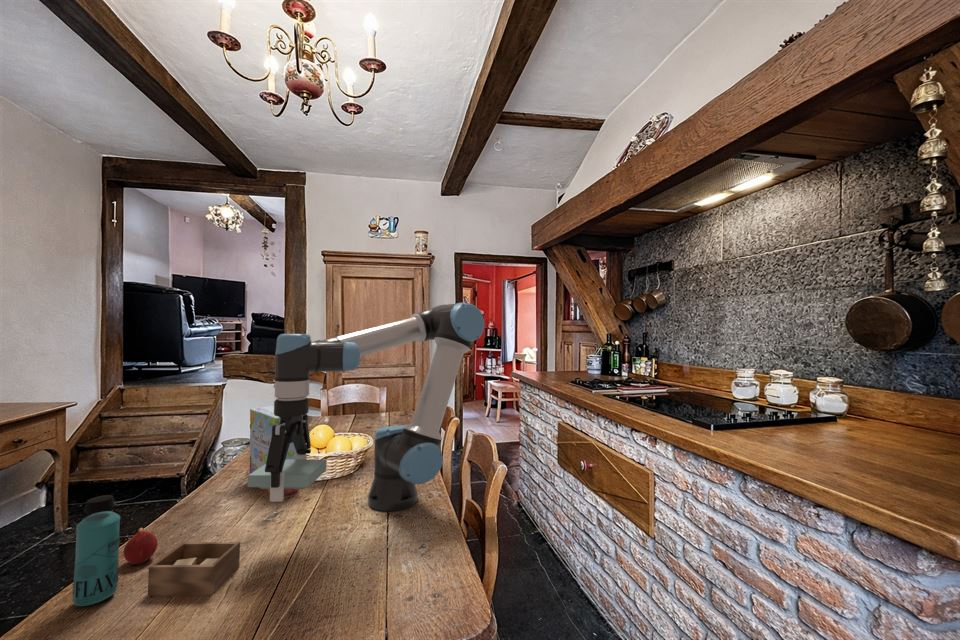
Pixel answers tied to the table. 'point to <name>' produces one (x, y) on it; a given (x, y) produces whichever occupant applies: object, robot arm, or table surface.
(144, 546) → the onion
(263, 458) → the snack box
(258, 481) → the lid
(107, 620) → the table surface
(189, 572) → the box
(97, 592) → the beverage bottle
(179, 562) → the block
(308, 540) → the table surface
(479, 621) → the table surface
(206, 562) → the block
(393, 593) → the table surface
